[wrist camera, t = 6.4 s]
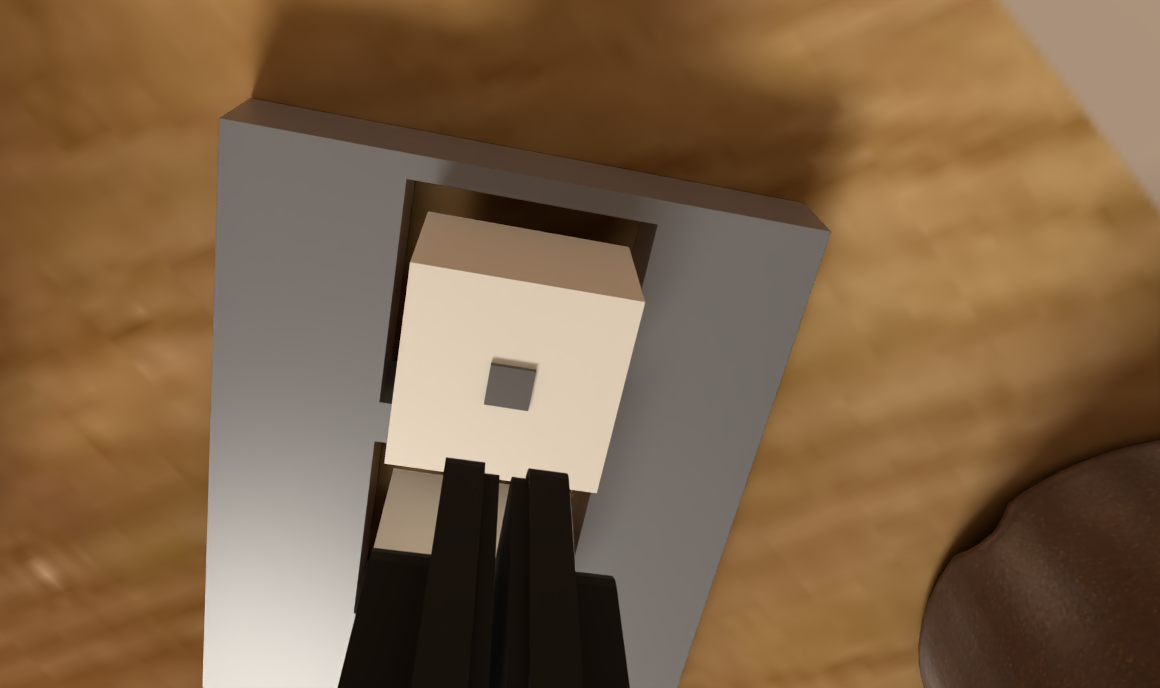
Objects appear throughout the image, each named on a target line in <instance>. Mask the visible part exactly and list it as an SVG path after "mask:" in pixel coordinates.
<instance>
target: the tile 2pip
mask: <svg viewBox="0 0 1160 688" xmlns="http://www.w3.org/2000/svg"><path fill="white" fill-rule="evenodd" d="M442 480H443V475H438V474H431V473H424V472H417V471H410V470H403V469H395V468H393V472H392V476H391V480H390V484H389V488H388V492H387V496H386V500H385V504H384V508H383V512H382V516H381V520H380V524H379V528H378V532H377V536H376V540H375V544H374V548H381V549H389V550H398V551H406V552H415V553H423V554H431V552H432V545H433V539H434V532H435V526H436V519H437V513H438V506H439V499H440V493H441V486H442ZM509 485H510V484H503V483H499V499H498V518H497V538H496V553H497V548H498V543H499V537H500V532H501V527H502V522H503V516H504V511H505V506H506V501H507V496H508V490H509ZM570 501H571V494H570ZM571 515H572V509H571ZM572 529H573V524H572ZM573 543H574V539H573ZM574 557H575V554H574ZM495 558H496V557H495ZM575 571H576V569H575Z"/></svg>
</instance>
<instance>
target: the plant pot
mask: <svg viewBox="0 0 1160 688" xmlns="http://www.w3.org/2000/svg"><path fill="white" fill-rule="evenodd" d="M919 667H920V673H921V678H922V682H923V686H924V688H1160V440H1157V441H1152V442H1147V443H1143V444H1138V445H1134V446H1130V447H1125V448H1121V449H1117V450H1114V451H1111V452H1107V453H1104V454H1101V455H1099V456H1096V457H1093V458H1091V459H1088V460H1086V461H1083V462H1080V463H1078V464H1075V465H1073V466H1071V467H1069V468H1067V469H1065V470H1062V471H1060V472H1058V473H1056V474H1054V475H1052V476H1050V477H1048V478H1046V479H1044V480H1043V481H1041V482H1039V483H1038V484H1036V485H1034V486H1032V487H1031V488H1029V489H1027V490H1026V491H1024V492H1022V493H1021V494H1020V495H1018V496H1017V497H1016V498H1014V499H1013V500H1012V501H1010V502H1009V503H1007V506H1006V509H1005V511H1004V514H1003V516H1002V518H1001V520H1000V522H999V524H998V526H997V527H996V529H995V530H994V531H993V532H992V533H991V534H990V535H989V536H988V537H986V538H985V539H984V540H983V541H982V542H980V543H979V544H978V545H976V546H974V547H973V548H971V549H969V550H967V551H965V552H961V553H957V554H956V555H955V556H953V557H952V559H951V561H950V562H949V564H948V565H947V567H946V568H945V570H944V571H943V573H942V574H941V576H940V577H939V579H938V581H937V583H936V585H935V587H934V589H933V592H932V594H931V596H930V598H929V601H928V604H927V607H926V610H925V613H924V616H923V620H922V625H921V632H920V638H919Z"/></svg>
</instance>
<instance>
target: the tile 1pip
mask: <svg viewBox="0 0 1160 688" xmlns="http://www.w3.org/2000/svg"><path fill="white" fill-rule="evenodd" d="M644 305H645V300H644V296H643V293H642V290H641V286H640V283H639V279H638V276H637V273H636V269H635V266H634V262H633V259H632V256H631V252H630V249H629V247H626V246H620V245H615V244H609V243H603V242H598V241H592V240H587V239H581V238H575V237H570V236H564V235H559V234H553V233H547V232H542V231H536V230H530V229H525V228H519V227H514V226H508V225H502V224H497V223H491V222H485V221H480V220H474V219H469V218H463V217H457V216H452V215H446V214H440V213H435V212H429V211H428V213H427V216H426V219H425V221H424V224H423V227H422V230H421V233H420V236H419V238H418V241H417V244H416V247H415V250H414V253H413V256H412V258H411V261H410V267H409V275H408V283H407V291H406V298H405V306H404V314H403V322H402V329H401V337H400V345H399V353H398V361H397V368H396V376H395V384H394V392H393V399H392V407H391V415H390V423H389V430H388V438H387V446H386V454H385V462H384V464H391V465H398V466H406V467H413V468H420V469H427V470H434V471H441V472H444V467H445V460H446V457H448V458H456V459H464V460H471V461H479V462H485V473H488V474H496V475H499V476H500V480H505V481H511V478H512V477H518V478H526V474H527V471H528V469H529V468H531V469H539V470H547V471H554V472H562V473H567V474H568V476H569V487H570V490H577V491H584V492H591V493H597V490H598V486H599V482H600V478H601V474H602V470H603V467H604V463H605V459H606V455H607V451H608V447H609V443H610V439H611V435H612V431H613V427H614V423H615V419H616V415H617V411H618V407H619V403H620V399H621V395H622V392H623V388H624V384H625V380H626V376H627V372H628V368H629V364H630V360H631V356H632V352H633V348H634V344H635V340H636V336H637V332H638V328H639V324H640V321H641V317H642V313H643V309H644Z"/></svg>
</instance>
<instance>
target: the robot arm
mask: <svg viewBox="0 0 1160 688" xmlns="http://www.w3.org/2000/svg"><path fill="white" fill-rule="evenodd" d="M499 480H500V476H499V475H496V474H488V473H485V462H479V461H471V460H464V459H456V458H448V457H446V460H445V467H444V473H443V480H442V486H441V493H440V499H439V506H438V513H437V519H436V526H435V532H434V539H433V545H432V552H431V554H423V553H415V552H406V551H398V550H389V549H381V548H373V549H372V551H371V555H370V558H369V562H368V566H367V570H366V574H365V578H364V582H363V587H362V591H361V595H360V599H359V603H358V607H357V611H356V615H355V619H354V623H353V627H352V631H351V635H350V639H349V643H348V647H347V651H346V655H345V659H344V663H343V667H342V672H341V676H340V680H339V684H338V688H630V685H629V677H628V669H627V662H626V654H625V646H624V639H623V631H622V623H621V616H620V608H619V600H618V593H617V586H616V582H615V579H614V577H613V576H610V575H601V574H593V573H584V572H576V571H575V557H574V543H573V529H572V515H571V501H570V487H569V476H568V474H567V473H562V472H554V471H547V470H539V469H531V468H529V469H528V471H527V474H526V478H518V477H512V478H511V481H510V485H509V490H508V496H507V501H506V506H505V511H504V516H503V522H502V527H501V532H500V537H499V543H498V548H497V553H496V538H497V518H498V499H499ZM495 557H496V558H495Z"/></svg>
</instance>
